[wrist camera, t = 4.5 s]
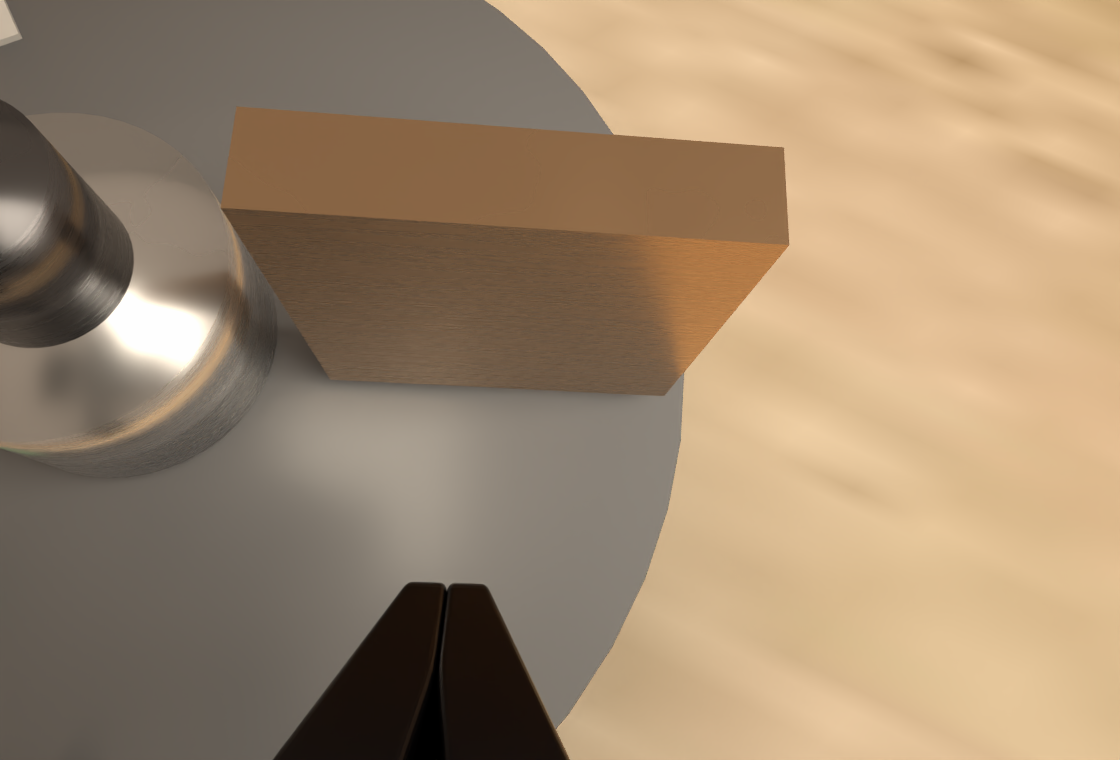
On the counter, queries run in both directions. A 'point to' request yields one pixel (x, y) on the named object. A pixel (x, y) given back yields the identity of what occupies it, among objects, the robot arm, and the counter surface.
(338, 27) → the gauge plate
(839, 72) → the counter surface
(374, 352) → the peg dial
